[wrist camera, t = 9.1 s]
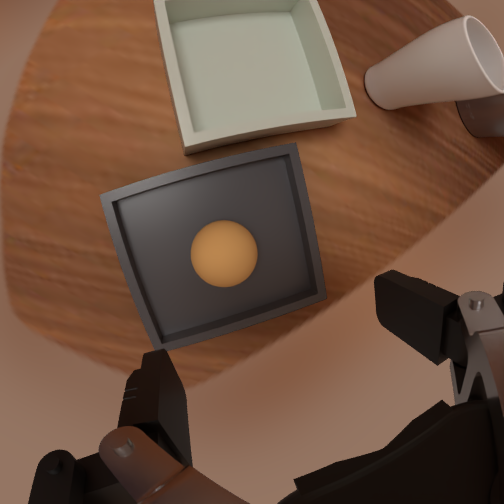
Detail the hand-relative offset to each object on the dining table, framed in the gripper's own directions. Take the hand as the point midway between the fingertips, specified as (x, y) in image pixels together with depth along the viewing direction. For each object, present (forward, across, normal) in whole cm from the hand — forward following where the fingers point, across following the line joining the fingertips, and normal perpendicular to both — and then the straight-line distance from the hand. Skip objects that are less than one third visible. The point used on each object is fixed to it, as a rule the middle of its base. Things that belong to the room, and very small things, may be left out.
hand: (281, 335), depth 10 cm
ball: (+15, 0, 0) cm, 15 cm away
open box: (+16, -6, -15) cm, 23 cm away
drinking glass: (+17, -21, -12) cm, 29 cm away
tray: (+16, 0, 0) cm, 16 cm away
